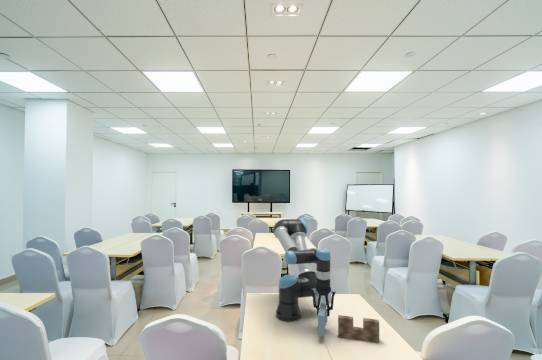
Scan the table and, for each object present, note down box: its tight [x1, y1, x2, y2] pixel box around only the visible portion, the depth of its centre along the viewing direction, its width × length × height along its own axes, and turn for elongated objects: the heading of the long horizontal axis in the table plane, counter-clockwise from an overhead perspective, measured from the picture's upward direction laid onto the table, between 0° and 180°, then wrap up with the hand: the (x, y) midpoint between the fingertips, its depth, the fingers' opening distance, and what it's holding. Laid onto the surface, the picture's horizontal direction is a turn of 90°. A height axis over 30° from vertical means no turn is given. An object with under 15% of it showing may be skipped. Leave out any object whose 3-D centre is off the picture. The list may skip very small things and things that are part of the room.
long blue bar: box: [317, 303, 327, 337], centre depth 147 cm, size 3×16×10 cm, turn 164°
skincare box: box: [315, 292, 332, 305], centre depth 190 cm, size 10×6×10 cm, turn 113°
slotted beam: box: [337, 314, 380, 344], centre depth 143 cm, size 20×3×10 cm, turn 74°
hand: (323, 321), depth 152 cm, fingers closed on long blue bar, 3 cm apart
